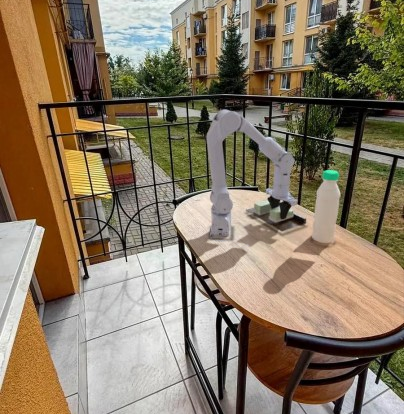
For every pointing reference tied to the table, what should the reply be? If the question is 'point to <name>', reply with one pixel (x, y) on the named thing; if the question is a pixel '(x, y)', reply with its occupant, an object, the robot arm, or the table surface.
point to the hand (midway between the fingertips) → (279, 216)
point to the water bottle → (326, 208)
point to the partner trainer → (262, 207)
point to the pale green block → (276, 214)
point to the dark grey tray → (283, 224)
